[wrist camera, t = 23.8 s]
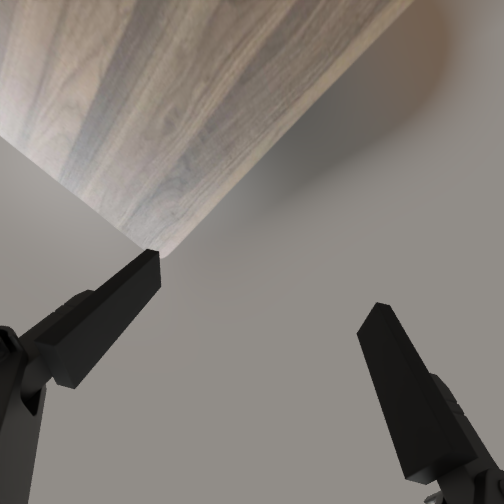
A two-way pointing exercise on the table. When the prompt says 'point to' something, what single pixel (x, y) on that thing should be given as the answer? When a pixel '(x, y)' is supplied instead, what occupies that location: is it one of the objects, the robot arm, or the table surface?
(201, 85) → the table surface
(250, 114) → the table surface
